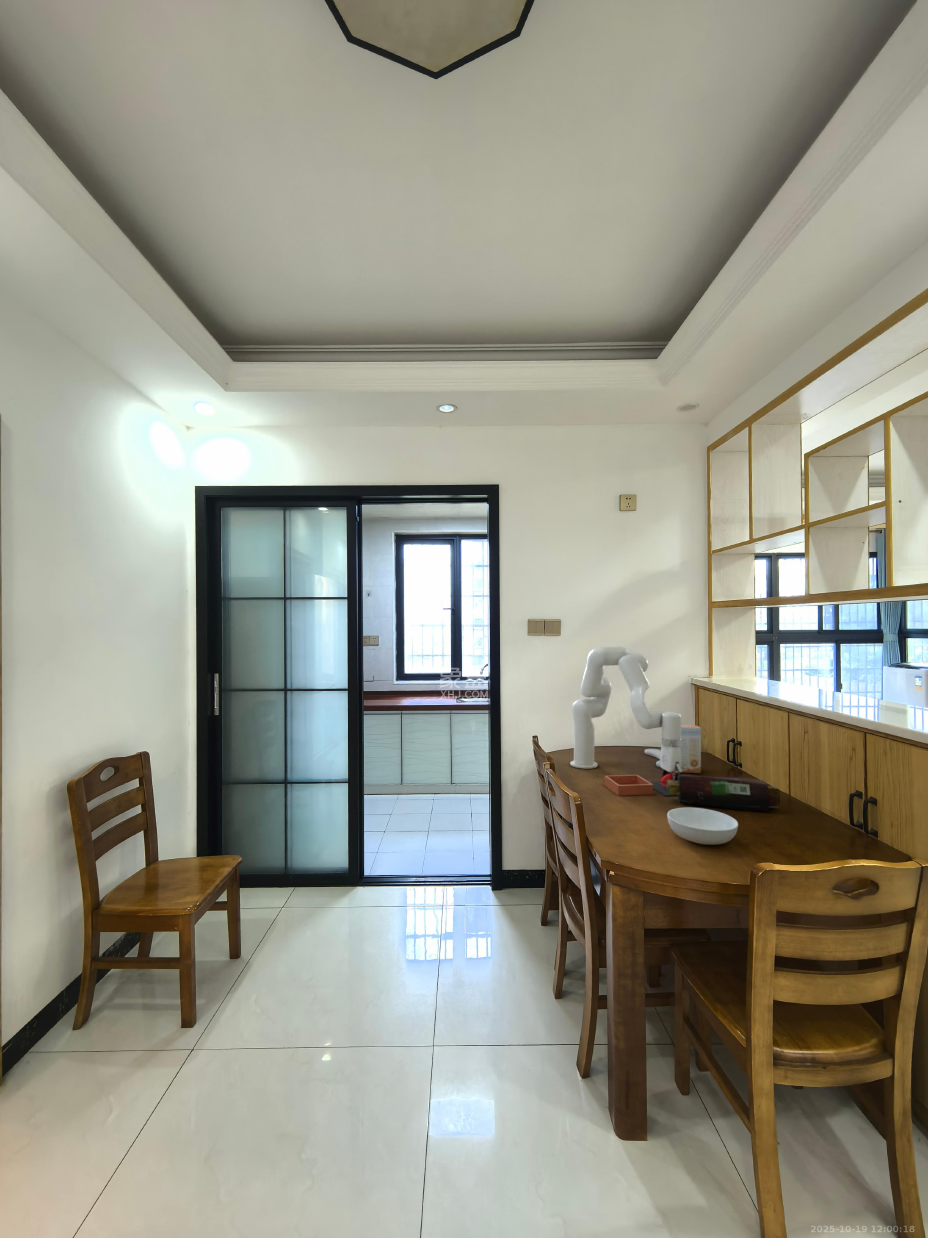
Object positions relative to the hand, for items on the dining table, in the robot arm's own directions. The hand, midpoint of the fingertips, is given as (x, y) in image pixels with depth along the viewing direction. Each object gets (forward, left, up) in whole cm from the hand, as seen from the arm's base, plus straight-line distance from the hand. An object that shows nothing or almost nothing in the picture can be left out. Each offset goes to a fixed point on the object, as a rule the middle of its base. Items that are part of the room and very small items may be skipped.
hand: (670, 785), depth 242 cm
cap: (0, 0, -1) cm, 1 cm away
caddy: (-1, -18, -1) cm, 18 cm away
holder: (-45, +23, -2) cm, 51 cm away
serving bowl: (+53, -17, -2) cm, 56 cm away
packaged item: (+22, +9, -2) cm, 24 cm away
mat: (0, 0, -1) cm, 1 cm away
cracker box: (-25, +19, -2) cm, 31 cm away
